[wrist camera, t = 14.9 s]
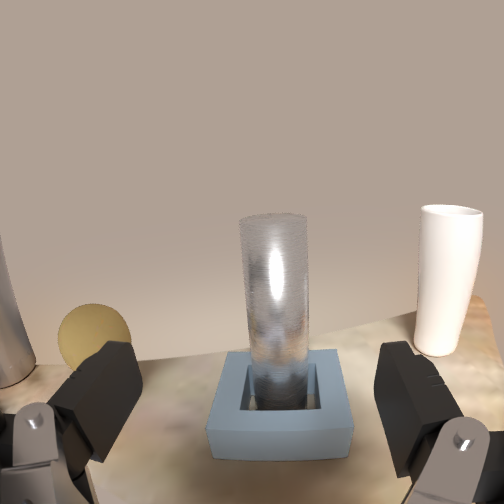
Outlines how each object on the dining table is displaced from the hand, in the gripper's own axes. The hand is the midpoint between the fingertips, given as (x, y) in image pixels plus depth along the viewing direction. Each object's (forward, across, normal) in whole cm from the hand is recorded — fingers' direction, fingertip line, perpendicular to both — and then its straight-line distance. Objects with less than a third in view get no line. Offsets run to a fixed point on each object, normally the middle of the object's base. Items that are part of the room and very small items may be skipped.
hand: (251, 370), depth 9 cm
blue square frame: (+11, -1, +13) cm, 17 cm away
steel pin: (+10, -1, +13) cm, 17 cm away
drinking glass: (+19, -18, +13) cm, 29 cm away
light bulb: (+11, +14, +14) cm, 22 cm away
